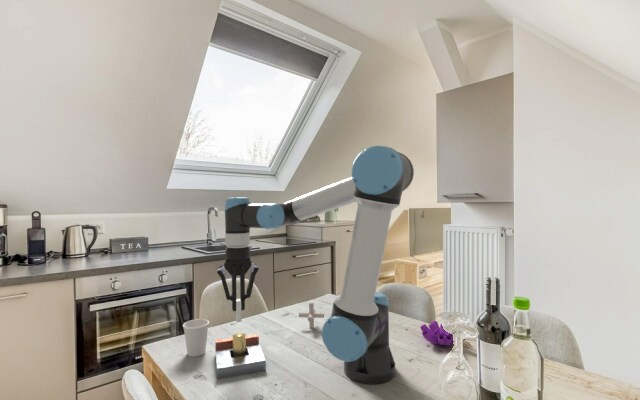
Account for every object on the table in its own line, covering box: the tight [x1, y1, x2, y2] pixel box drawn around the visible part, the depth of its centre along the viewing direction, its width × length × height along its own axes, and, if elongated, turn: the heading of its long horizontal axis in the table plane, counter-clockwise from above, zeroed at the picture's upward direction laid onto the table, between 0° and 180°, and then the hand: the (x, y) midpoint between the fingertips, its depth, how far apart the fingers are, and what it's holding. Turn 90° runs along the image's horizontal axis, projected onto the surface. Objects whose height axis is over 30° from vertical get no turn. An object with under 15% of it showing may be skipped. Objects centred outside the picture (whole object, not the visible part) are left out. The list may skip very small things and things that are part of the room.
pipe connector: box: [298, 301, 325, 329], centre depth 133 cm, size 10×10×10 cm
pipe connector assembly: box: [419, 320, 466, 346], centre depth 117 cm, size 11×15×10 cm
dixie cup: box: [182, 318, 210, 357], centre depth 112 cm, size 8×8×10 cm
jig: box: [214, 333, 267, 380], centre depth 105 cm, size 16×14×5 cm
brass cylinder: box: [232, 332, 246, 358], centre depth 105 cm, size 4×4×8 cm
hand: (238, 320), depth 105 cm, fingers closed
